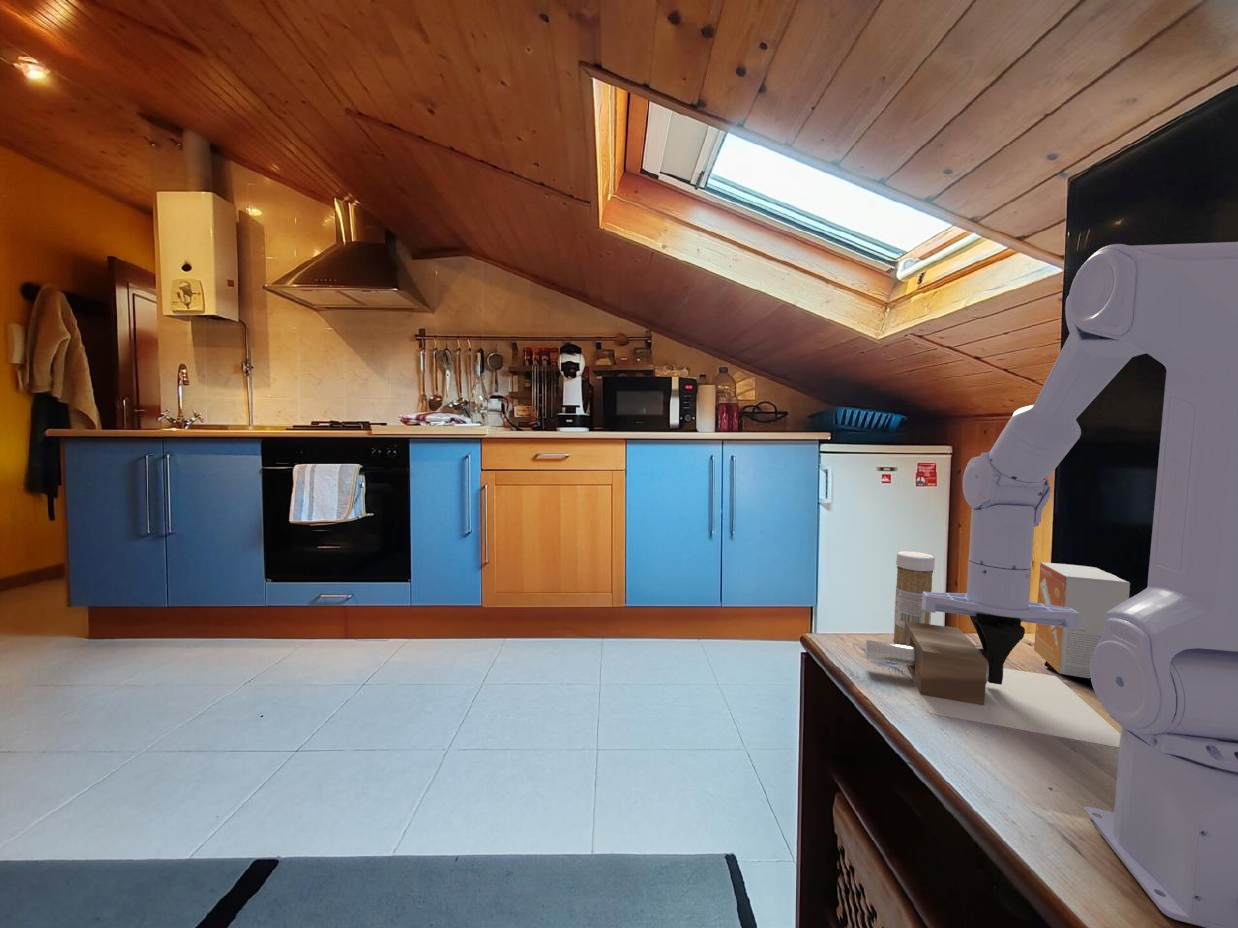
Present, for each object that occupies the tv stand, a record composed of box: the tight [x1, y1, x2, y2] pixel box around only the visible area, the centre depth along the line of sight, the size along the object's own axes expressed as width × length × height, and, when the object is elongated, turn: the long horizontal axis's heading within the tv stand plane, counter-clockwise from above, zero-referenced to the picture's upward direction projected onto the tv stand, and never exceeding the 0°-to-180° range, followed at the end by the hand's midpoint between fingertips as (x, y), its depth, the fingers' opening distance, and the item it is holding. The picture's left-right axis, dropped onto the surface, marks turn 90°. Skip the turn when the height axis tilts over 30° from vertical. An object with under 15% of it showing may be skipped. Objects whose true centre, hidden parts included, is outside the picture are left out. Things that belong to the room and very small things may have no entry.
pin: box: [864, 639, 989, 683], centre depth 60 cm, size 4×12×4 cm, turn 70°
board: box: [904, 664, 1120, 749], centre depth 57 cm, size 16×17×1 cm
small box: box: [1033, 561, 1131, 679], centre depth 65 cm, size 8×6×13 cm
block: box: [904, 621, 987, 706], centre depth 60 cm, size 10×6×5 cm, turn 160°
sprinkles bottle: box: [892, 550, 935, 645], centre depth 70 cm, size 5×5×14 cm
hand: (991, 679), depth 58 cm, fingers closed
